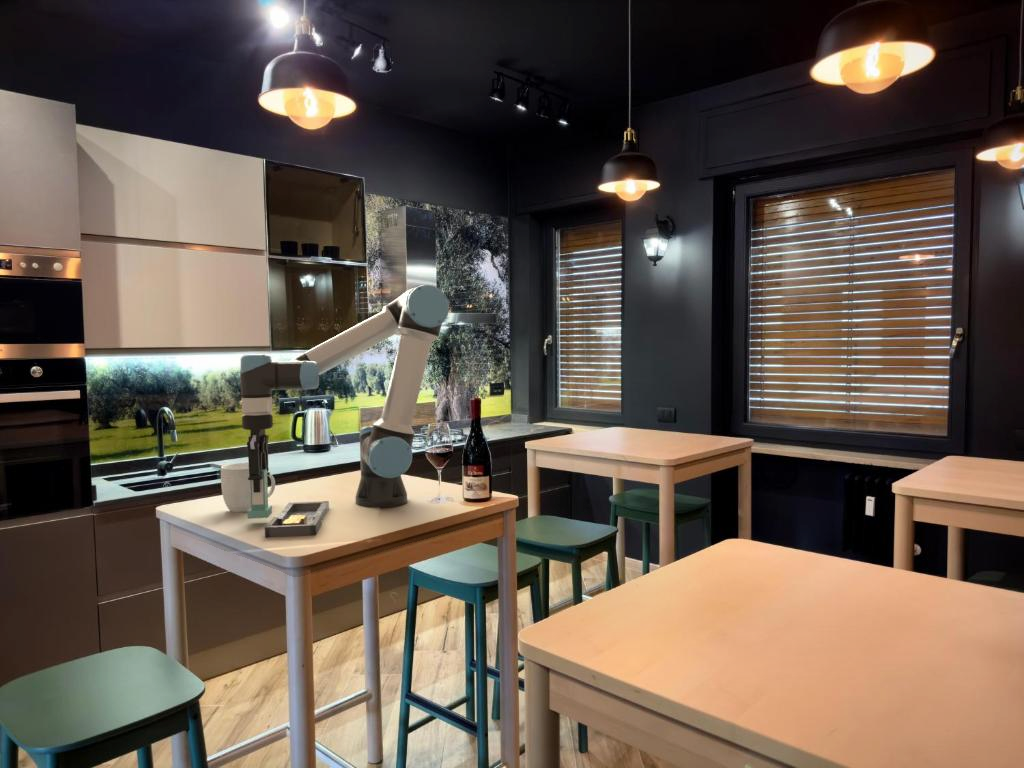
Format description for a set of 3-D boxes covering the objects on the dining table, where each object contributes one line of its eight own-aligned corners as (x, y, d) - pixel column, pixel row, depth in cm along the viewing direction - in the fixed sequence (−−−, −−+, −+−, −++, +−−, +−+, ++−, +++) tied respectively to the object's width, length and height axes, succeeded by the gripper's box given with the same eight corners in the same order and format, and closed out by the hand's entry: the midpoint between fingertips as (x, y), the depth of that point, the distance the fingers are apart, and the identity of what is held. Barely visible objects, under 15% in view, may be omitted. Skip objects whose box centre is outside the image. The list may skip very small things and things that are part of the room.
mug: (268, 502, 207) (267, 459, 207) (282, 508, 199) (280, 463, 198) (217, 510, 198) (215, 465, 197) (229, 517, 190) (227, 470, 189)
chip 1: (302, 528, 176) (301, 518, 176) (299, 532, 172) (298, 522, 172) (285, 529, 175) (285, 519, 175) (282, 533, 171) (282, 523, 171)
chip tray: (321, 526, 179) (321, 514, 179) (315, 537, 169) (315, 525, 169) (273, 528, 178) (273, 517, 178) (265, 539, 168) (264, 527, 168)
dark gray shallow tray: (328, 509, 197) (328, 501, 197) (319, 526, 179) (319, 516, 179) (289, 511, 196) (288, 502, 195) (275, 528, 178) (275, 518, 178)
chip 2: (306, 524, 180) (306, 514, 180) (304, 528, 176) (304, 518, 176) (291, 524, 179) (290, 515, 179) (288, 528, 175) (287, 519, 175)
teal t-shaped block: (271, 513, 184) (270, 468, 183) (267, 517, 179) (266, 472, 178) (252, 513, 183) (251, 469, 182) (247, 518, 178) (246, 472, 177)
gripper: (250, 410, 187) (252, 495, 188) (233, 417, 171) (236, 510, 172) (278, 410, 188) (281, 494, 189) (265, 416, 172) (267, 509, 173)
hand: (260, 502), depth 181 cm, fingers closed on teal t-shaped block, 3 cm apart
